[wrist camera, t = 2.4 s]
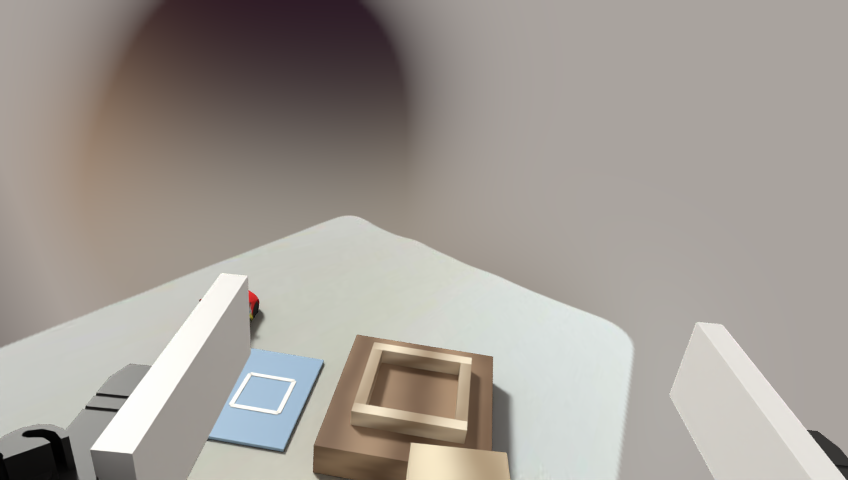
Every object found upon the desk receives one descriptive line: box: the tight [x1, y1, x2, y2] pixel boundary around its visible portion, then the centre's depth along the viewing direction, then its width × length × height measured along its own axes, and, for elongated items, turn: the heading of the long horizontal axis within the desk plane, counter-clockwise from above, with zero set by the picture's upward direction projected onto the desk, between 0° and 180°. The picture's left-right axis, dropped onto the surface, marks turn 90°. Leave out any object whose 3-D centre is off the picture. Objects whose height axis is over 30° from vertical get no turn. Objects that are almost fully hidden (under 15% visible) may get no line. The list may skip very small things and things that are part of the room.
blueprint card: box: [208, 348, 324, 452], centre depth 52 cm, size 8×12×1 cm, turn 173°
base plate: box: [313, 335, 493, 480], centre depth 50 cm, size 14×15×4 cm
